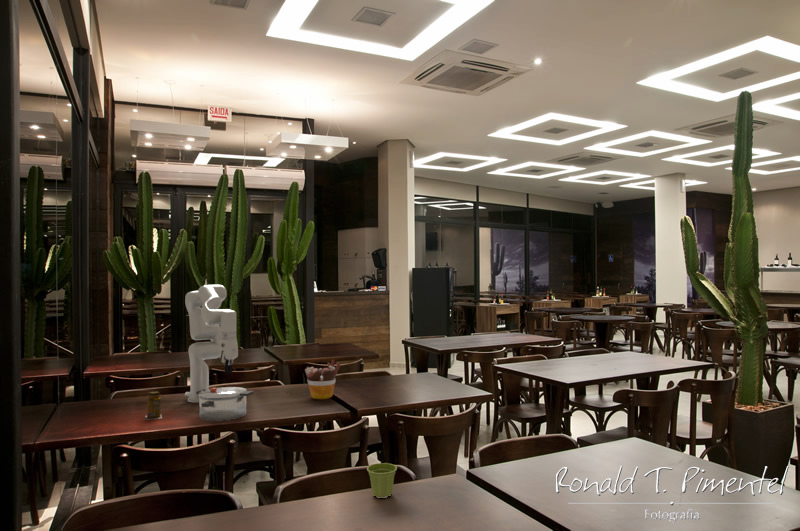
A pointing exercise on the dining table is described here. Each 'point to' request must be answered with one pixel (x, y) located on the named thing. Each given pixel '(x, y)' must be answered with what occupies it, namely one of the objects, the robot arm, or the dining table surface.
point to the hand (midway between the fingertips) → (228, 373)
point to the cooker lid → (223, 393)
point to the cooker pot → (222, 408)
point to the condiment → (153, 406)
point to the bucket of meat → (322, 381)
